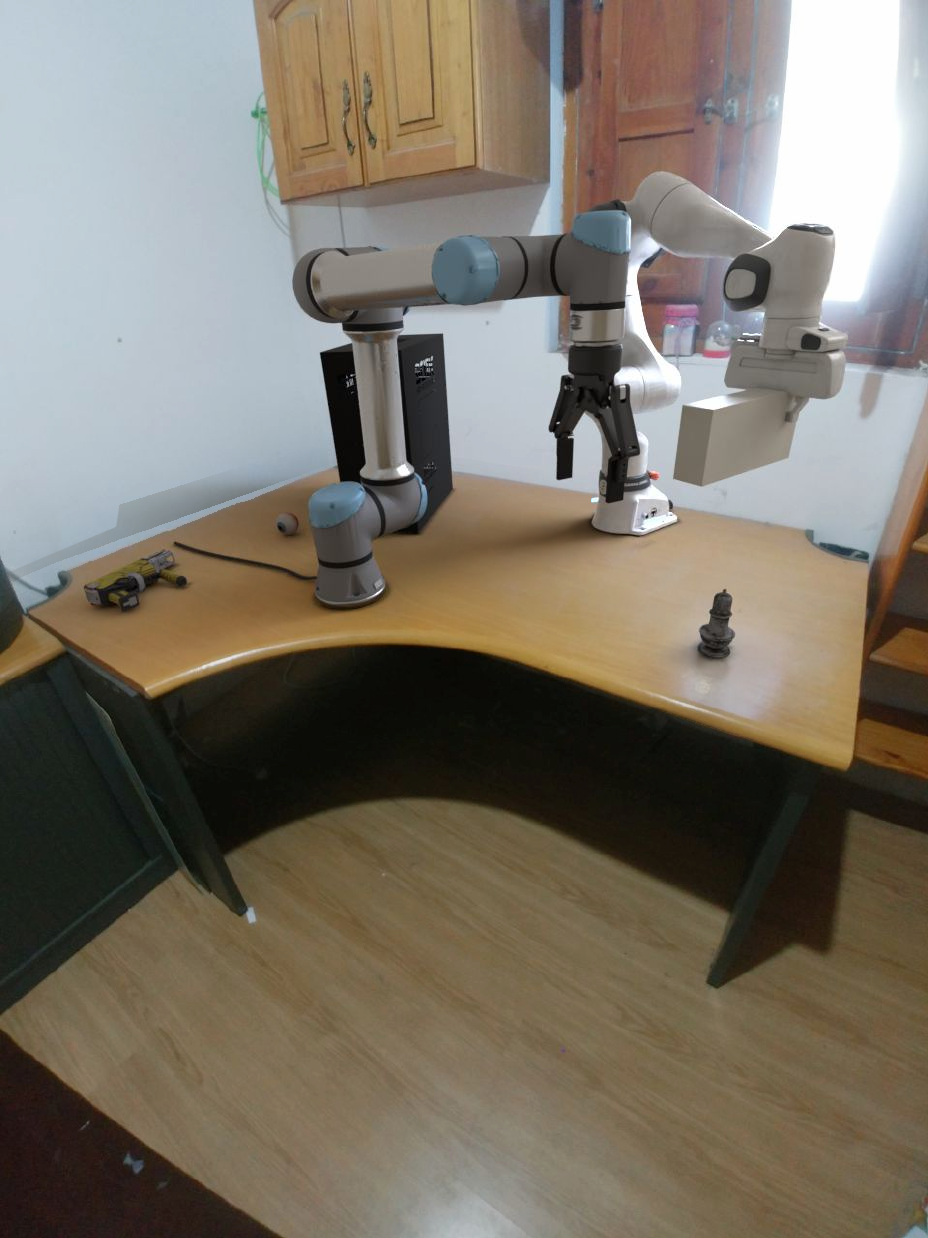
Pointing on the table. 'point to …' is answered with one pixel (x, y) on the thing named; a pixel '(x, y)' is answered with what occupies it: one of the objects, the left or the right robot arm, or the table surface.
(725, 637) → the dark grey chess piece
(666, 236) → the right robot arm
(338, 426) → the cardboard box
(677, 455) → the box
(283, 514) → the eyeball
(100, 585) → the toy gun
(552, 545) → the table surface
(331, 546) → the left robot arm
